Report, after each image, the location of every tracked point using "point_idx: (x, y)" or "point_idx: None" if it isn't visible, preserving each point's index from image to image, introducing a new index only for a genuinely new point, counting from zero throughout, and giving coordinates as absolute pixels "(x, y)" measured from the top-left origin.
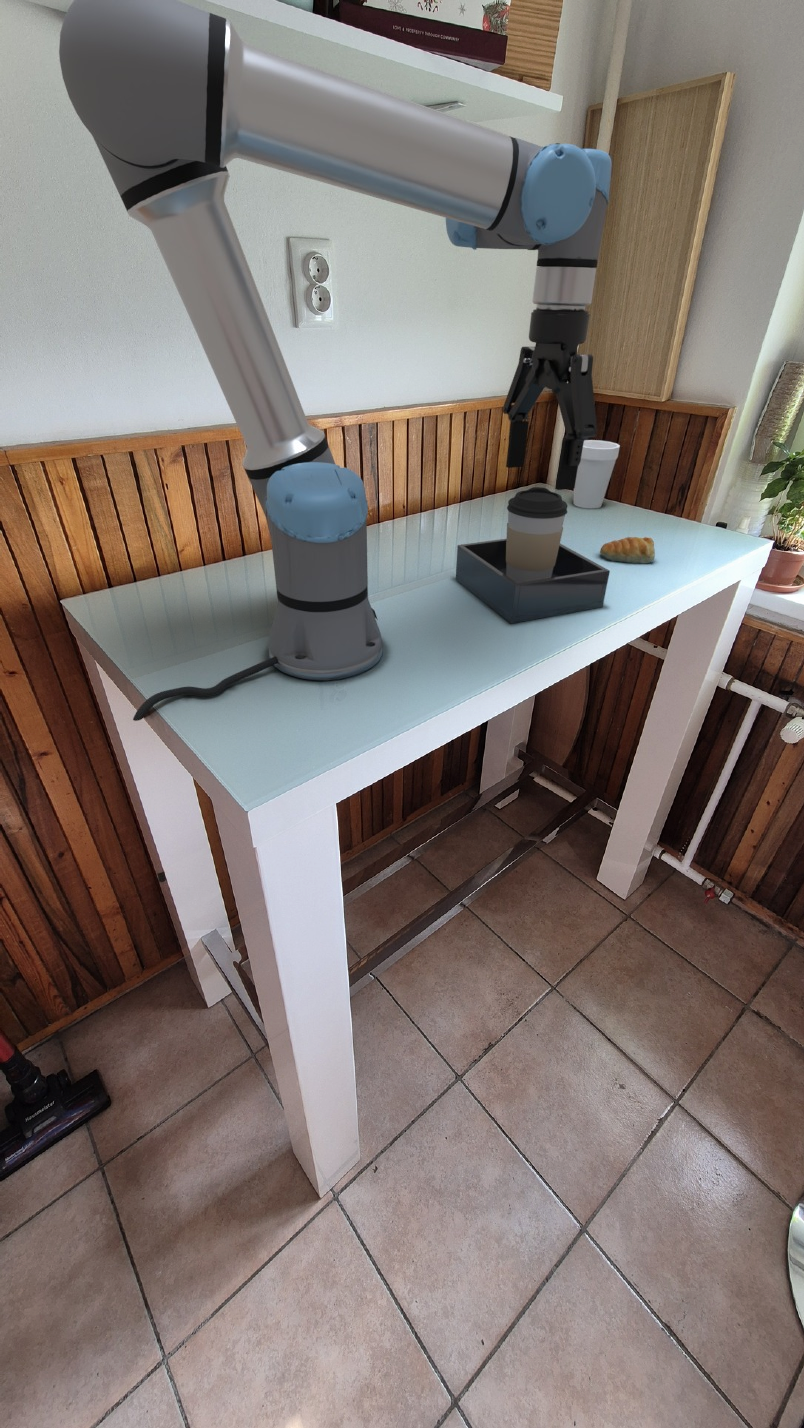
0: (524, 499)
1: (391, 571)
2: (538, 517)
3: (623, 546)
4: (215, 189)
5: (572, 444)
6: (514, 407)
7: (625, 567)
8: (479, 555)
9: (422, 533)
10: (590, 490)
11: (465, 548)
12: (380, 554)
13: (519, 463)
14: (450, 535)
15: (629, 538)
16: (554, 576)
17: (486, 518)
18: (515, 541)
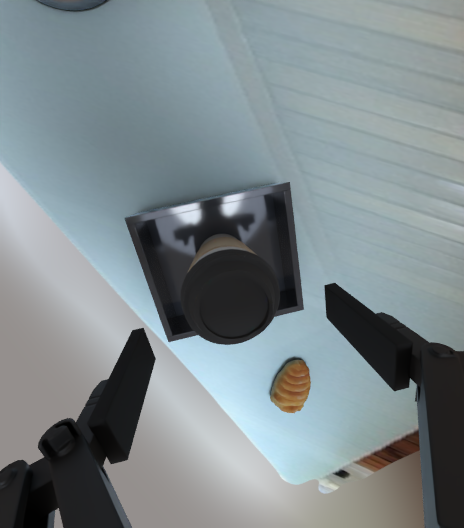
0: (212, 277)
1: (321, 97)
2: (182, 285)
3: (287, 383)
4: None
5: (82, 427)
6: (449, 382)
7: (266, 370)
8: (281, 216)
9: (437, 181)
10: None
11: (272, 190)
12: (386, 95)
13: (329, 312)
14: (415, 218)
15: (298, 394)
16: None
17: (451, 279)
18: (207, 247)
